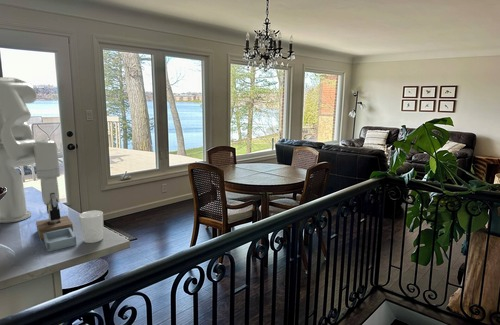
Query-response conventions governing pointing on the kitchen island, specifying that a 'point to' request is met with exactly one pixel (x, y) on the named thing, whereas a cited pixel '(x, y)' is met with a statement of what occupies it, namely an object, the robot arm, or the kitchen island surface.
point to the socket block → (53, 226)
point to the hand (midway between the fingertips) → (53, 216)
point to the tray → (59, 239)
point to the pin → (50, 218)
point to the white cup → (92, 226)
